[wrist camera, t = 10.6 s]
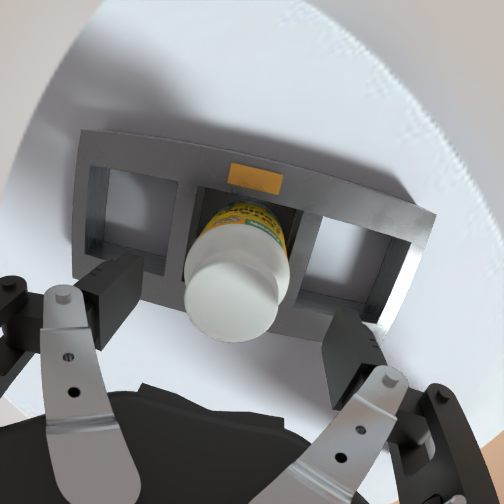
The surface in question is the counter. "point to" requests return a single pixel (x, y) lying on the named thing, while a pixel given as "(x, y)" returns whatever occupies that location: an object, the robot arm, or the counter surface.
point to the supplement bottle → (237, 273)
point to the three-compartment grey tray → (255, 186)
